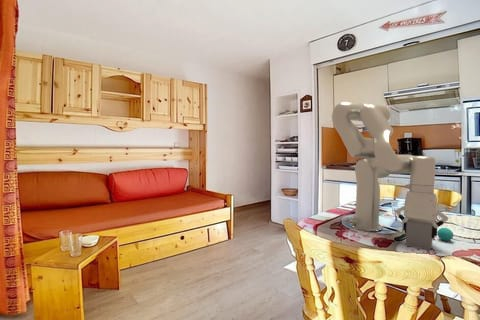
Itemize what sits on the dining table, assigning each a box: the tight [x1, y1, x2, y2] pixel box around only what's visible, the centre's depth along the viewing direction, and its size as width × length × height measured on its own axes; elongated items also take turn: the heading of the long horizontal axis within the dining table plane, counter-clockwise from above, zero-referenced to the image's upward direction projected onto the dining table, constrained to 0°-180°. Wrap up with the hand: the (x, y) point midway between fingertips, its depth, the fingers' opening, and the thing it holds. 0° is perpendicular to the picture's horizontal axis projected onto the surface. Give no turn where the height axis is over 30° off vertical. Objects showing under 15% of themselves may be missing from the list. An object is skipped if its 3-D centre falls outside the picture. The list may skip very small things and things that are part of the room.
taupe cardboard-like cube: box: [404, 218, 433, 251], centre depth 100 cm, size 8×8×9 cm
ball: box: [437, 227, 454, 242], centre depth 104 cm, size 5×5×5 cm
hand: (419, 234), depth 100 cm, fingers closed on taupe cardboard-like cube, 7 cm apart
